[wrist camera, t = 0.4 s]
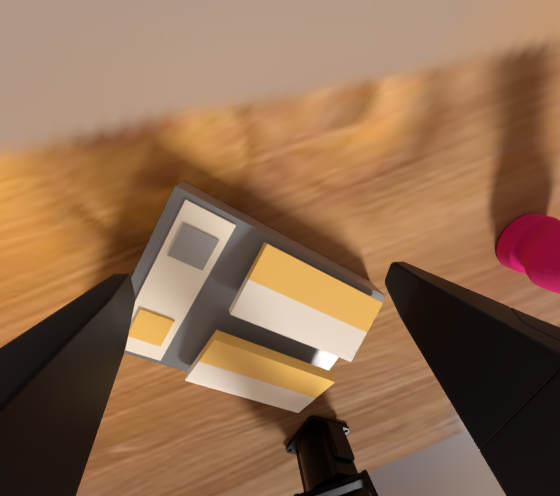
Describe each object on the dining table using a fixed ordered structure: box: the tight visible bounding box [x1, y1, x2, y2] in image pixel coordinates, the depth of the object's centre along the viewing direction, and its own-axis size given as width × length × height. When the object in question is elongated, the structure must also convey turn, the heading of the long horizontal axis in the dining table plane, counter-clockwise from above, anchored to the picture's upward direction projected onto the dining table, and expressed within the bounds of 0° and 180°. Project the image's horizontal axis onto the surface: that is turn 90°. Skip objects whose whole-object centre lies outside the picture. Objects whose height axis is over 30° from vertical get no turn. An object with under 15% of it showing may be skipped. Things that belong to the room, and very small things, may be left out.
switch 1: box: [229, 242, 383, 362], centre depth 22 cm, size 6×12×1 cm, turn 57°
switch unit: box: [124, 181, 385, 372], centre depth 24 cm, size 15×20×4 cm
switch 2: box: [185, 330, 335, 413], centre depth 24 cm, size 6×12×1 cm, turn 59°
